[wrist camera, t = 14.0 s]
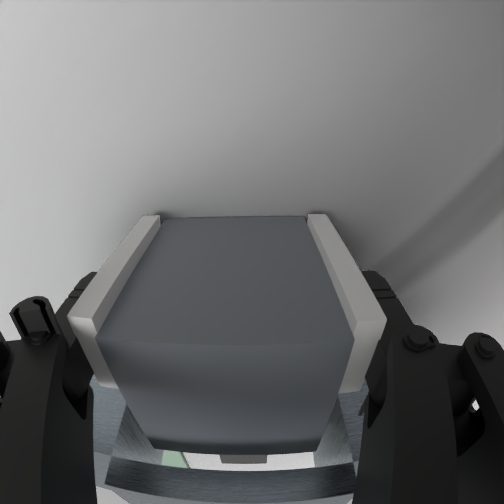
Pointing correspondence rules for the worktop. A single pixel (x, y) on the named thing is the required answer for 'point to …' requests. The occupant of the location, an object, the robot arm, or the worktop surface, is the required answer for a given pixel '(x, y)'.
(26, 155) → the worktop surface
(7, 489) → the robot arm
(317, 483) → the housing
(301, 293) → the plug
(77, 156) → the worktop surface
